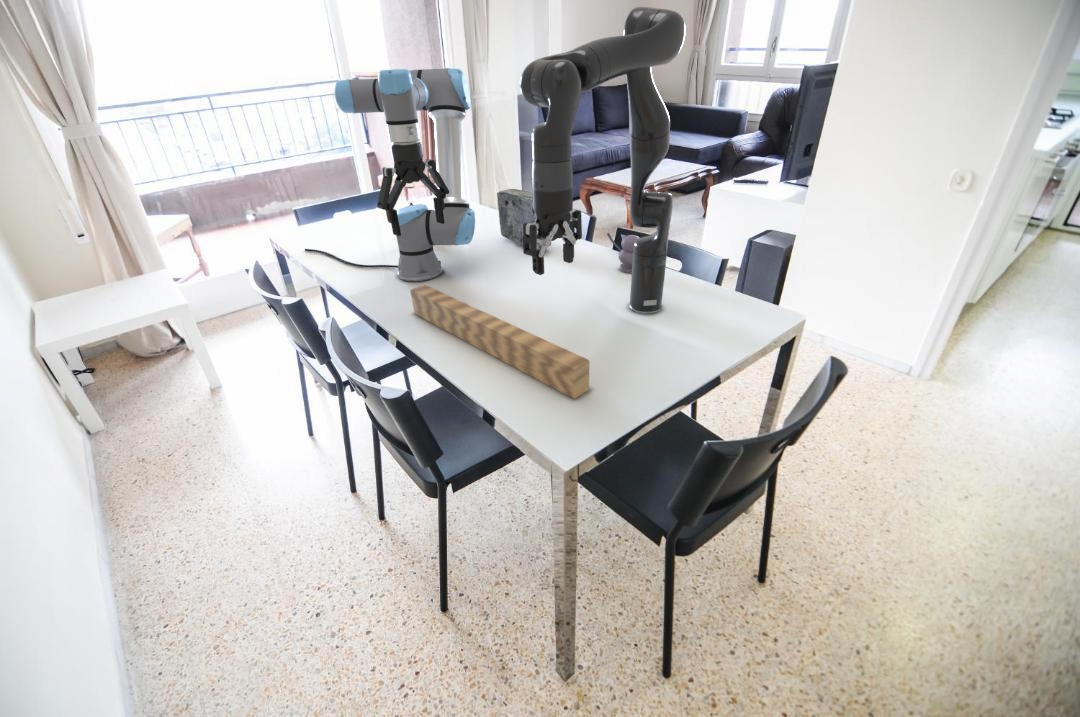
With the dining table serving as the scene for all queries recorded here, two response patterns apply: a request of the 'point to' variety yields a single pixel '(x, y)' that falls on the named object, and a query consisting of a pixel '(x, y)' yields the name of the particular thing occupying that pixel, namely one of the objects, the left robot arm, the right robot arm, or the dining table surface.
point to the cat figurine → (627, 252)
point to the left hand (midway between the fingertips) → (419, 228)
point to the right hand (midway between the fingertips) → (554, 267)
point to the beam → (504, 341)
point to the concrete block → (515, 213)
